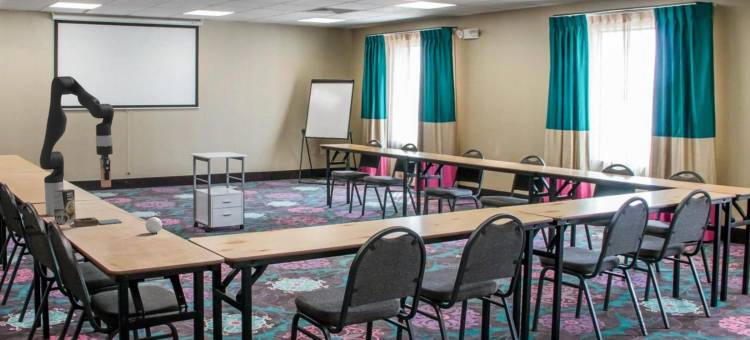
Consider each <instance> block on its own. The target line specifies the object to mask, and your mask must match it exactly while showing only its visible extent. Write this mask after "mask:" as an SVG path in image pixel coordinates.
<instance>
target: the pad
mask: <svg viewBox="0 0 750 340" xmlns="http://www.w3.org/2000/svg"><path fill="white" fill-rule="evenodd" d="M114 224H115V225H116V224H123V221H121V220H119V219H118V218H114V219H113V218H112V219H104V220H98V225H101V226H106V225H114Z"/></svg>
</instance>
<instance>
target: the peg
mask: <svg viewBox="0 0 750 340" xmlns="http://www.w3.org/2000/svg"><path fill="white" fill-rule="evenodd" d="M106 169H108V168H106ZM99 170H100V172H99V173H100V187H101V188H111V187H112V177H111V174H112V173H111V169H110V172H109V180H104V168H101V167H100V169H99Z"/></svg>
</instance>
